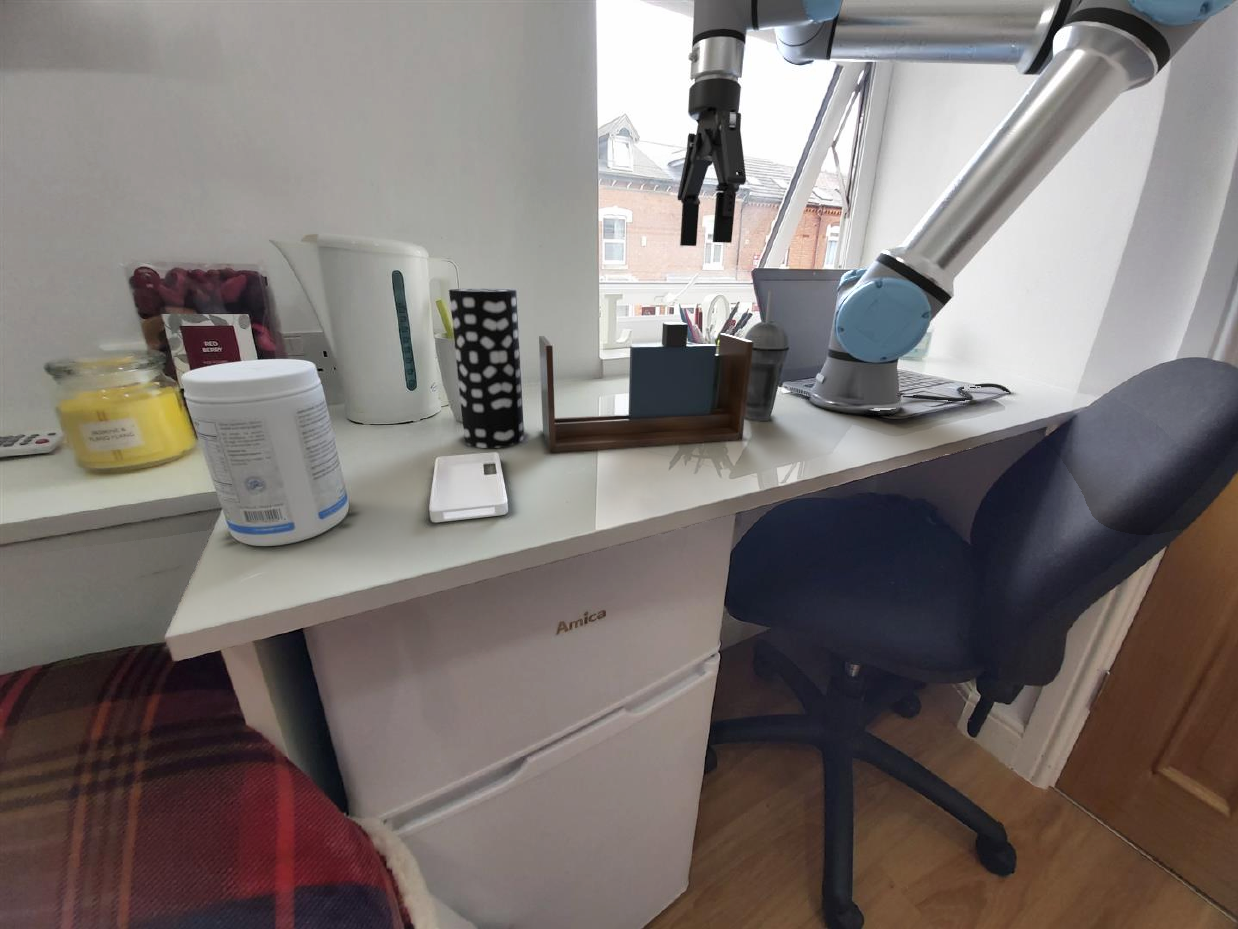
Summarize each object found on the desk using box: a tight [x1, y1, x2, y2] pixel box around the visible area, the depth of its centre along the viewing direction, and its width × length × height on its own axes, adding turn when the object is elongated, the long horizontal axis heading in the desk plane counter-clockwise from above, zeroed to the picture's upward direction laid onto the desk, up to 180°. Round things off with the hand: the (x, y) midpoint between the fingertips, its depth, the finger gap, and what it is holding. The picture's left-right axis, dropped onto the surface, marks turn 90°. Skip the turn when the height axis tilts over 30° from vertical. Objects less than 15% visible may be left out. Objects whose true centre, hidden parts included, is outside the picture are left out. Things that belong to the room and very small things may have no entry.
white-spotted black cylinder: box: [448, 288, 525, 449], centre depth 67 cm, size 8×8×20 cm
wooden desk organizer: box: [538, 333, 753, 454], centre depth 70 cm, size 28×9×14 cm, turn 104°
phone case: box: [428, 452, 509, 523], centre depth 54 cm, size 7×1×15 cm
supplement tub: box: [180, 358, 350, 547], centre depth 44 cm, size 10×10×15 cm
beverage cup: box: [744, 290, 790, 422], centre depth 80 cm, size 7×7×20 cm
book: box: [628, 322, 717, 419], centre depth 71 cm, size 12×2×15 cm, turn 104°
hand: (703, 244), depth 80 cm, fingers open, 13 cm apart
